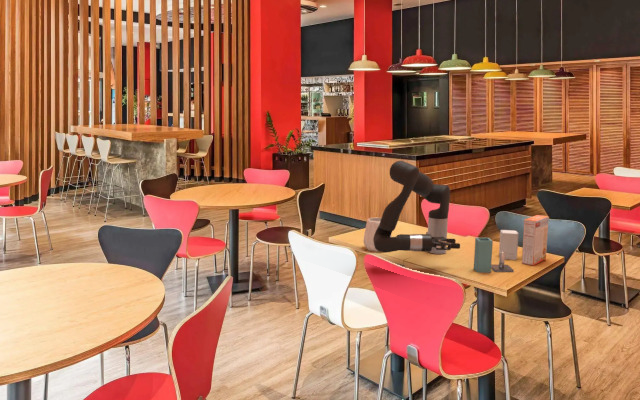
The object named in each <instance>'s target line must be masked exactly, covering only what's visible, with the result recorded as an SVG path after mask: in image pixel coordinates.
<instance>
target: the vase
mask: <svg viewBox="0 0 640 400" xmlns="http://www.w3.org/2000/svg"><path fill="white" fill-rule="evenodd" d="M381 218H382V217H369V218H367V220H366V224H365V228H364V229H365V230H364V234H363V245H364V248H365V249H367V251H369V252H373V253H374V252H375V253H378V252H379V251H377V250H376V249H375V246H374V242H373V238H374V235H375V232H376V230H377V228H378V226H379V224H380V221H381ZM390 237H392V235H391V236H390ZM379 253H380V252H379Z"/></svg>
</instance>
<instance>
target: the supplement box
mask: <svg viewBox="0 0 640 400" xmlns="http://www.w3.org/2000/svg"><path fill="white" fill-rule="evenodd" d="M519 235H520V233H519V232H518V231H517V230H511V229H510V230H509V229H500V234H499V246H498V257H500V253H501V252H504V253H505V260H511V261H515V260H516V261H517V260H518V259H517V258H518V247H519Z"/></svg>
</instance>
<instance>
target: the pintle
mask: <svg viewBox="0 0 640 400" xmlns="http://www.w3.org/2000/svg"><path fill="white" fill-rule="evenodd" d="M505 260H506V259H505V253H504V252H501V253H500V256H499V260H498V264H496V263H495V264H492V263H491V271H493V272H494V273H514V271H515V270H514V269H513V268H512V267H511V266H510V265H509V264H505V262H506V261H505Z"/></svg>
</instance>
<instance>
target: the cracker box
mask: <svg viewBox="0 0 640 400" xmlns="http://www.w3.org/2000/svg"><path fill="white" fill-rule="evenodd" d="M549 219H550V218H549V216H548V215H543V214H542V215H541V214H536V215H533V216H531V217H528V218H525V219H524V220H523V232H522V233H523V237H522V238H523V239H522V252H521V253H522V254H521V264H524V265H528V266H533V267H534V266H536V265H538V264H539V263H541V262H543V261H545V260H547V250H548V249H547V245H548V235H549V234H548V233H549V232H548V231H549Z"/></svg>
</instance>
